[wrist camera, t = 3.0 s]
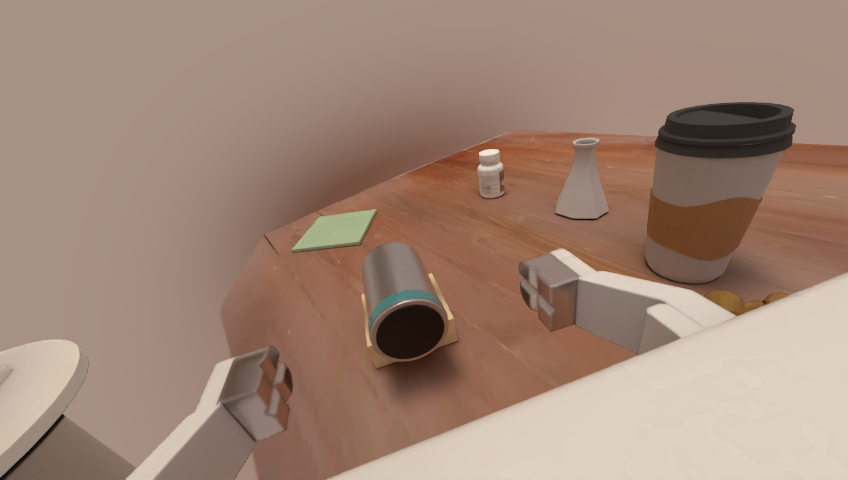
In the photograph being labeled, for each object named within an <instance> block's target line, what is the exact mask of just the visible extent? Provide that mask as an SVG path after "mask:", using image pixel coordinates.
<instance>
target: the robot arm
mask: <svg viewBox="0 0 848 480" xmlns="http://www.w3.org/2000/svg"><path fill="white" fill-rule="evenodd" d="M519 273H520V274H521V275H522V276H523V279H522V280H521V282H520V290H521V294H522V297H523V299H524V301H525V303H526V304H527V305H528V307H529V308H530V309H531V310H534V311H537V312H538V316H539V319H540V320H541V322H542V323H543V324H544V325H545V326H546V327H547V328H548V329H549V331H550V332H553V331H556V330H559V329H562V328H565V327H568V326H571V325H574V324H575V325H576V326H578V327H580V328H582V329H585V330H587V331H589V332H591V333H593V334H596V335H598V336H600V337H602V338H604V339H606V340H609V341H611V342H613V343H615V344H617V345H619V346H622V347H624V348H626V349H628V350H630V351H633V352H635V353H637V356H635V357H633V358H630V359H628V360H625V361H623V362H620V363H618V364H615V365H613V366H610V367H607V368H605V369H602V370H600V371H597V372H595V373H592V374H590V375H587V376H585V377H582V378H580V379H577V380H575V381H572V382H570V383H567V384H565V385H562V386H560V387H557V388H555V389H552V390H550V391H547V392H545V393H542V394H540V395H537V396H535V397H532V398H530V399H527V400H525V401H522V402H520V403H517V404H515V405H512V406H510V407H507V408H504V409H502V410H499V411H497V412H494V413H492V414H489V415H487V416H484V417H482V418H479V419H477V420H474V421H472V422H469V423H467V424H464V425H462V426H459V427H457V428H454V429H452V430H449V431H447V432H444V433H442V434H439V435H436V436H434V437H431V438H429V439H426V440H424V441H421V442H419V443H416V444H414V445H411V446H409V447H406V448H404V449H401V450H399V451H396V452H394V453H391V454H388V455H386V456H383V457H381V458H378V459H376V460H373V461H371V462H368V463H366V464H363V465H361V466H358V467H356V468H353V469H351V470H348V471H346V472H343V473H341V474H338V475H336V476H333V477H331V478H328V479H325V480H848V272H846V273H844V274H841V275H839V276H836V277H834V278H831V279H829V280H826V281H824V282H821V283H819V284H816V285H814V286H811V287H809V288H806V289H804V290H801V291H799V292H796V293H794V294H791V295H789V296H786V297H784V298H781V299H779V300H776V301H774V302H771V303H769V304H766V305H764V306H761V307H759V308H756V309H754V310H751V311H749V312H746V313H744V314H741V315H739V316H736V315H734V314H732V313H731V312H729V311H727V310H725V309H724V308H722V307H720V306H718V305H717V304H715V303H713V302H711V301H710V300H708V299H706V298H705V297H703V296H701V295H699V294H698V293H696V292H694V291H692V290H689V289H684V288H679V287H675V286H670V285H666V284H661V283H657V282H652V281H647V280H643V279H638V278H634V277H629V276H624V275H620V274H615V273H611V272H606V271H599V272H597V271H595V270H594V269H592V268H591V267H590V266H588V265H587V264H585V263H584V262H582V261H581V260H580V259H578V258H577V257H575V256H574V255H572V254H571V253H570V252H568V251H567V250H565V249H562V248H560V249H557V250H554V251H551V252H549V253H547V254H544V255H541V256H538V257H535V258H532V259H529V260H526V261H524V262H521V263H520V265H519ZM278 359H279V352H278V351H277V350H276V348H275V347H274V346H268V347H265V348H262V349H258V350H255V351H252V352H249V353H246V354H242V355H239V356H237V357H233V358H230V359H227V360H224V361H221V362H219V363H218V364H217V365H216V366H215V367H214V370H213V372H212V374H211V376H210V379H209V381H208V383H207V386H206V388H205V390H204V392H203V395H202V397H201V399H200V402H199V404H198V406H197V408H196V411H195V413H193V414H190V415H188V416H187V417H186V418H185V419H184V420H183V421H182V422H181V423H180V424H179V425H178V426H177V428H175V429H174V430H173V431H172V433H171V434H170V435H169V436H168V437H167V438H166V439H165V440H164V441H163V442H162V443H161V444H160V445H159V446H158V447H157V448H156V449H155V450H154V451H153V452H152V453H151V454H150V455H149V456H148V457H147V458H146V459H145V460H144V461H143V462H142V463H141V464H140V465H139V466H138V467H137V468H136V469H135V470H134V471H133V472H132V473H131V474H130V475H129V476H128V477H127V478H126V479H125V480H235V478H236V477H237V475H238V473H239V472H240V470H241V469H242V467H243V465H244V463H245V462H246V460H247V459H248V457H249V455H250V454H251V452H252V450H253V449H254V447H255V446H256V442H258V441H261V440H263V439H266V438H268V437H271V436H273V435H276V434H278V433H281V432H283V431H286V430H287V424H288V417H289V411H290V408H289V406H288V405H287V403H286V402H287V401H288V399H289V398H290V396H291V395H292V389H293V383H292V375H291V373H290V370H289V368H288V366H287V365H286V364H285V363H283V362H280V361H278ZM11 372H12V369H11V368H9V367H7V366H5V365H0V385H1V384H2V383H3V382H4V381H5V380H6V379H7V377H8V376H9V375H10V374H11Z"/></svg>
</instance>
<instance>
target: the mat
mask: <svg viewBox="0 0 848 480" xmlns="http://www.w3.org/2000/svg"><path fill="white" fill-rule="evenodd" d="M376 213H377V210H376V209H374V210H366V211H359V212H352V213H344V214H337V215H330V216H323V217H319V218H318V219H317V220H316V222H315V223H314V224H313V225H312V226H311V227H310V229H309V230H308V231H307V232H306V233H305V234H304V236H303V237H302V238H301V239H300V240H299V242H298V243H297V244H296V245H295V246H294V247H293V249H292V252H301V251H310V250H318V249H327V248H335V247H344V246H353V245H360V244H361V242H362V240H363V238H364V236H365V234H366V232H367V230H368V228H369V226H370V224H371V222H372V220H373V219H374V217H375V215H376Z"/></svg>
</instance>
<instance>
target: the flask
mask: <svg viewBox="0 0 848 480" xmlns="http://www.w3.org/2000/svg"><path fill="white" fill-rule="evenodd" d="M598 145H599V139H597V138H583V139H578V140H575V141H573V148H575V155H574V160H573V164H572V168H571V171H570V173H569V176H568V178H567V180H566V183H565V185H564V187H563V190H562V192H561V194H560V196H559V198H558V201H557V203H556V213H558V214H561V215H564V216H567V217H570V218H598V217H599V216H601V215H603V214H604V213H606V212H607V211H609V209H608V205H607V201H606V198H605V195H604V192H603V188H602V185H601V182H600V179H599V175H598V171H597V165H596V148H597V146H598Z"/></svg>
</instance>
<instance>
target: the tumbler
mask: <svg viewBox="0 0 848 480" xmlns="http://www.w3.org/2000/svg"><path fill="white" fill-rule="evenodd" d="M362 276H363V284H364V292H365V300H366V308H367V316H368V329H369V337H370V341H371V344H372V347H373V348H374V350H375V351H376V352H377V353H378V354H379V355H380V356H382V357H383V358H385V359H388V360H391V361H398V362H405V361H412V360H416V359H419V358H422V357H424V356H426V355H428V354H430V353H431V352H433V351H434V350H435V349H436V348H438V347H439V346H440V344H441V343H442V342H443V341H444V339H445V337H446V335H447V333H448V328H449V320H448V316H447V313H446V311H445V308H444V306H443V304H442V302H441V301H440V299H439V297H438V295H437V293H436V291H435V288H434V286H433V284H432V282H431V280H430V278H429V275H428V273H427V271H426V269H425V267H424V265H423V262H422V260H421V258H420V256H419V254H418V253H417V251H416V250H415V249H413V248H412V247H410V246H409V245H406V244H403V243H397V242H393V243H387V244H383V245H381V246H379V247H377V248H375V249H374V250H372V251H371V252H370V253H369V254H368V256H367V257H366V259H365V260H364V263H363V266H362Z"/></svg>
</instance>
